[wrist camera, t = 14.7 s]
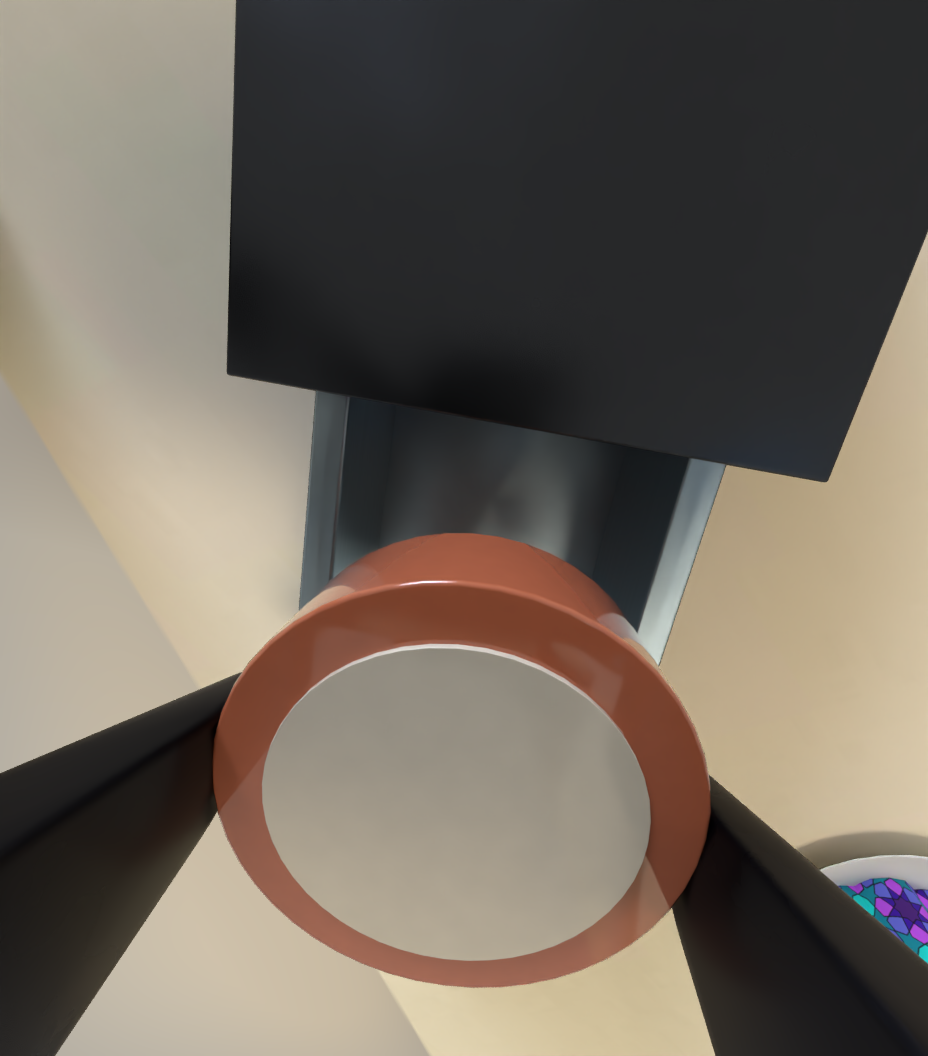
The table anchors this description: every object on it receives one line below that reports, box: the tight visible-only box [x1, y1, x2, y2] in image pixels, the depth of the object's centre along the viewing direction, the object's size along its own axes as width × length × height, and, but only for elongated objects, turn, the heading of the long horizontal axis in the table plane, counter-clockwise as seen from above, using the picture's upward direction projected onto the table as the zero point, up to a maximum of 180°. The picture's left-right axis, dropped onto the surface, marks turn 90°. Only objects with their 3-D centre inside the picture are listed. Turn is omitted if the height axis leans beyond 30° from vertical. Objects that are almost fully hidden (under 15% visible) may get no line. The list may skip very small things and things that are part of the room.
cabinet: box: [227, 0, 928, 482], centre depth 10 cm, size 16×12×8 cm
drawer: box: [299, 391, 726, 666], centre depth 13 cm, size 20×10×6 cm, turn 170°
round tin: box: [213, 533, 711, 988], centre depth 7 cm, size 7×7×3 cm
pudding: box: [820, 855, 928, 963], centre depth 18 cm, size 12×12×5 cm
